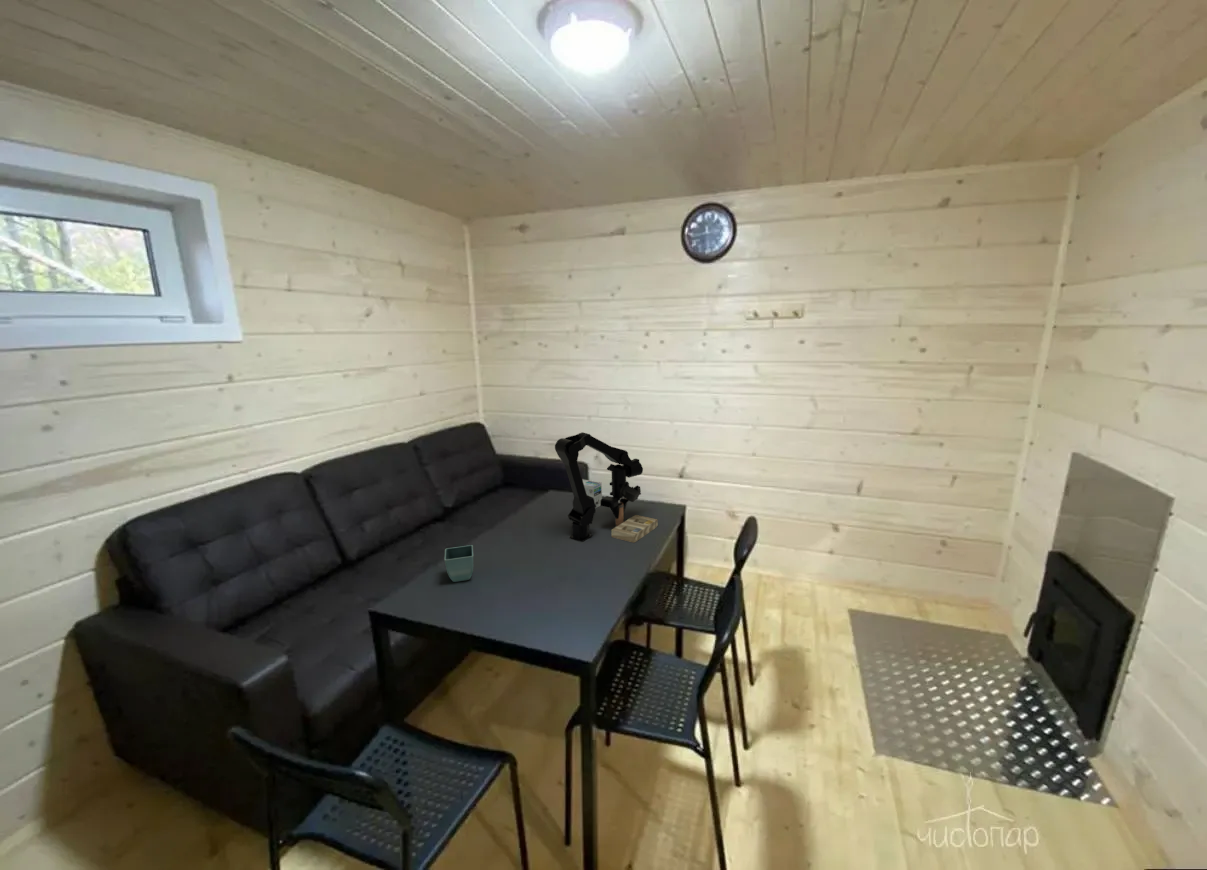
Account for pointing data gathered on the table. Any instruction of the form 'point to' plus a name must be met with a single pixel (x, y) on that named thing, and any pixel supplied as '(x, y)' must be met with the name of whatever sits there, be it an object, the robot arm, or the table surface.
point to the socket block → (634, 528)
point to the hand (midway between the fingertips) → (619, 517)
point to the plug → (620, 515)
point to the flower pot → (459, 562)
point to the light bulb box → (593, 490)
